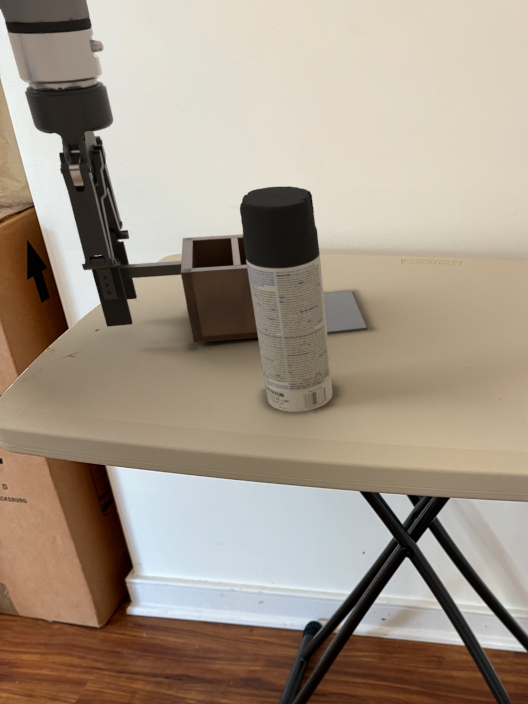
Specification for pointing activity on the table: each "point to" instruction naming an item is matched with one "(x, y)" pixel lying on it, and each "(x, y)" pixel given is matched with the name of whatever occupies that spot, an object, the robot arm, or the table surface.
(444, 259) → the table surface
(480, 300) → the table surface
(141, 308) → the table surface
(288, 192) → the spray can
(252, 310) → the brown box with handle
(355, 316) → the stand
